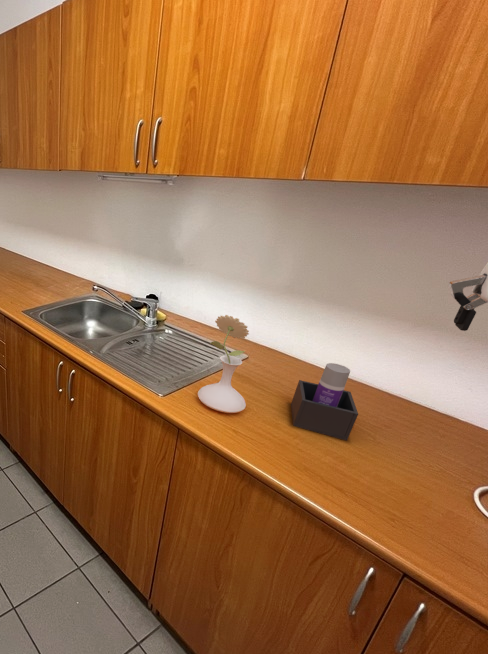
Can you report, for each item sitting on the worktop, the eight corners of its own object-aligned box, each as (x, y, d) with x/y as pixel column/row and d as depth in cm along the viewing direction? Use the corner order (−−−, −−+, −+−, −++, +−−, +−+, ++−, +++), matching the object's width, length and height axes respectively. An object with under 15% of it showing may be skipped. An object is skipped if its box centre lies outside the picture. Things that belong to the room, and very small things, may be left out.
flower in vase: (254, 413, 103) (280, 327, 94) (218, 420, 101) (241, 333, 91) (216, 386, 115) (236, 307, 105) (183, 392, 112) (200, 311, 103)
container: (310, 422, 98) (330, 371, 92) (304, 411, 102) (322, 361, 96) (333, 426, 97) (354, 374, 91) (326, 415, 101) (345, 364, 95)
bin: (340, 417, 101) (350, 391, 98) (347, 440, 93) (358, 414, 90) (290, 404, 107) (299, 379, 104) (293, 425, 99) (302, 399, 96)
